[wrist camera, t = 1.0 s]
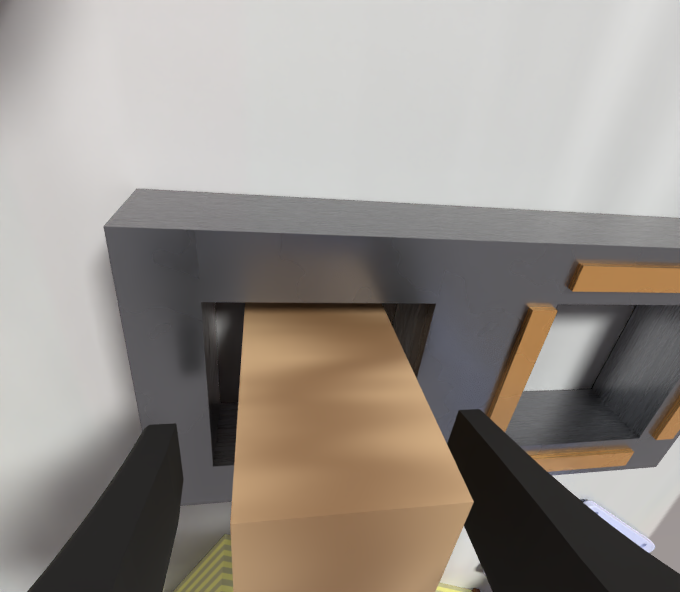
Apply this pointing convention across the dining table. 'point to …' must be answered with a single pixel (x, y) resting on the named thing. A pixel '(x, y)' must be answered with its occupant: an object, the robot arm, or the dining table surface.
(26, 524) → the dining table surface
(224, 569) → the hardcover book
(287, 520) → the wooden block
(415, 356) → the grey slotted holder
